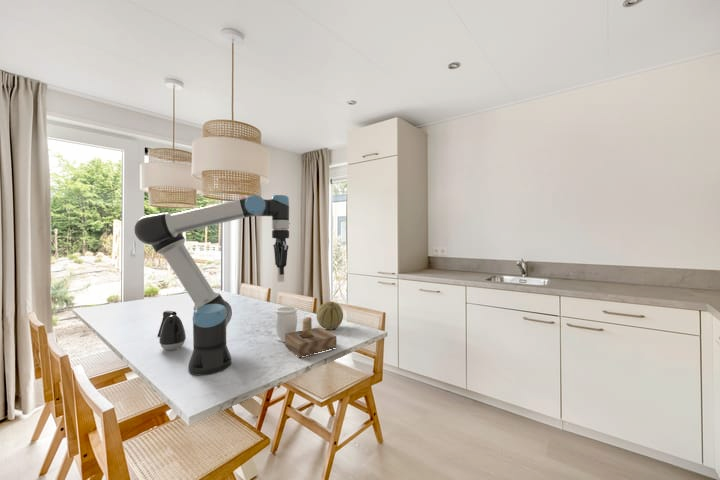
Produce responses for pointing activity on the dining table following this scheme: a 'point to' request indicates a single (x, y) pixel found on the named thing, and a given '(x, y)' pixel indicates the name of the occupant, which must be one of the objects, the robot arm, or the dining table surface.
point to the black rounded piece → (165, 315)
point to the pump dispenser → (172, 333)
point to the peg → (307, 327)
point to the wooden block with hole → (310, 342)
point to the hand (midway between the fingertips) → (280, 281)
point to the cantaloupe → (329, 315)
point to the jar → (285, 321)
